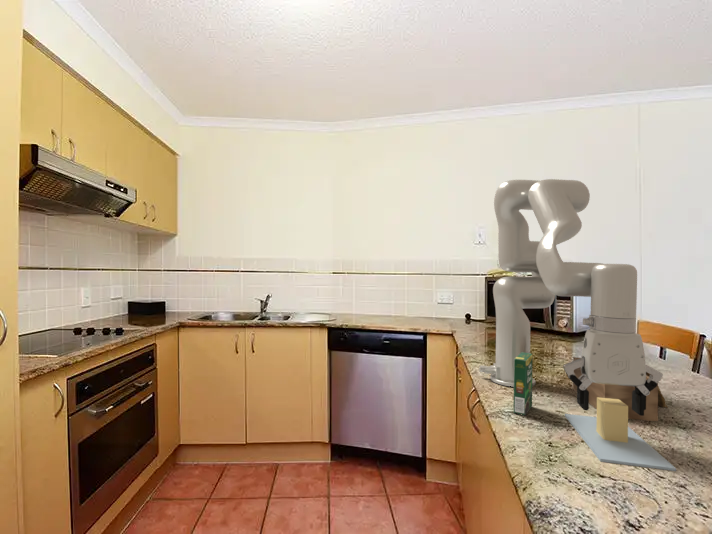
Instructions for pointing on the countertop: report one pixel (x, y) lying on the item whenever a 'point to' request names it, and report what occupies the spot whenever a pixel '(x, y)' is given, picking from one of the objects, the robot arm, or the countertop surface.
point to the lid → (616, 437)
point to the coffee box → (523, 383)
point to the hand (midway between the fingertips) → (610, 410)
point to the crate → (621, 397)
